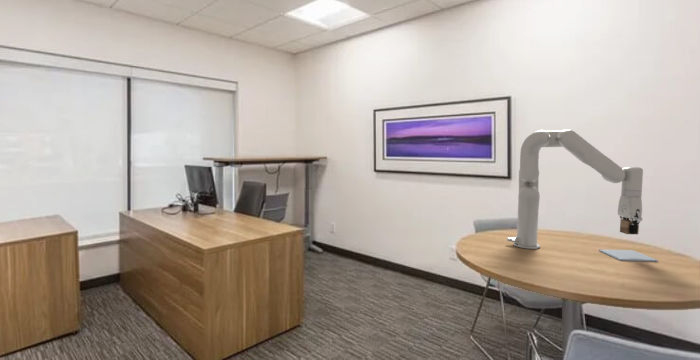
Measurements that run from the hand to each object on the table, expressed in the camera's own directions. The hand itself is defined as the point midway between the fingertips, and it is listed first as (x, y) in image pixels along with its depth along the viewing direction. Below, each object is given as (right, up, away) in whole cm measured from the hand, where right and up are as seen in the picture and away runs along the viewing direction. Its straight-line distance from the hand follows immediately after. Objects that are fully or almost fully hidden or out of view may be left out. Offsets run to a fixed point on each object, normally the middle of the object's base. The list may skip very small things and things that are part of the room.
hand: (628, 231), depth 172 cm
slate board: (0, -12, +1) cm, 12 cm away
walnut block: (0, -1, 0) cm, 1 cm away
